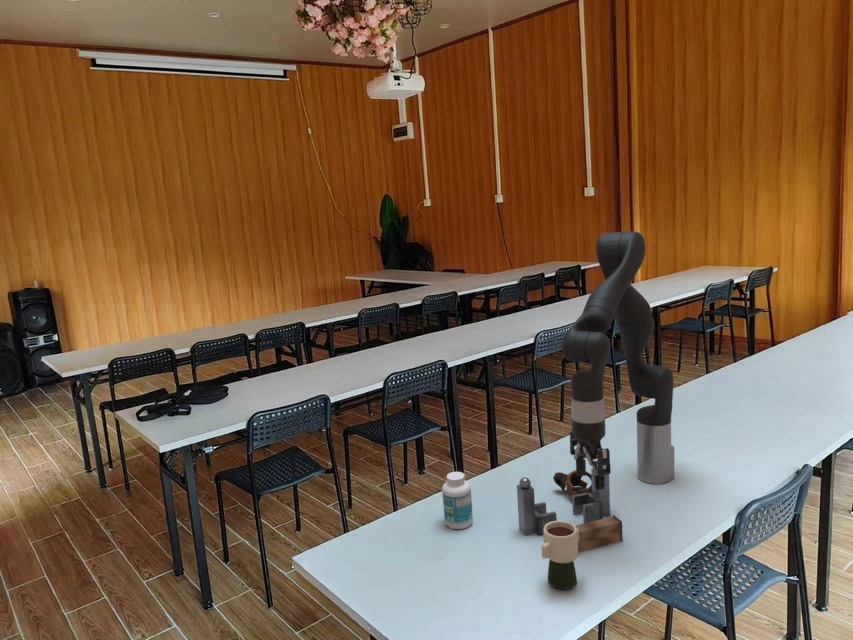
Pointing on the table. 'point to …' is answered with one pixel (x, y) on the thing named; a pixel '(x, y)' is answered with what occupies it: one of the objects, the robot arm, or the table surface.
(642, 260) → the robot arm
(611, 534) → the walnut rail
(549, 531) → the character mug
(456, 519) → the pill bottle
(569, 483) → the broken pottery vessel
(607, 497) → the ball knob clevis bracket
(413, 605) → the table surface
